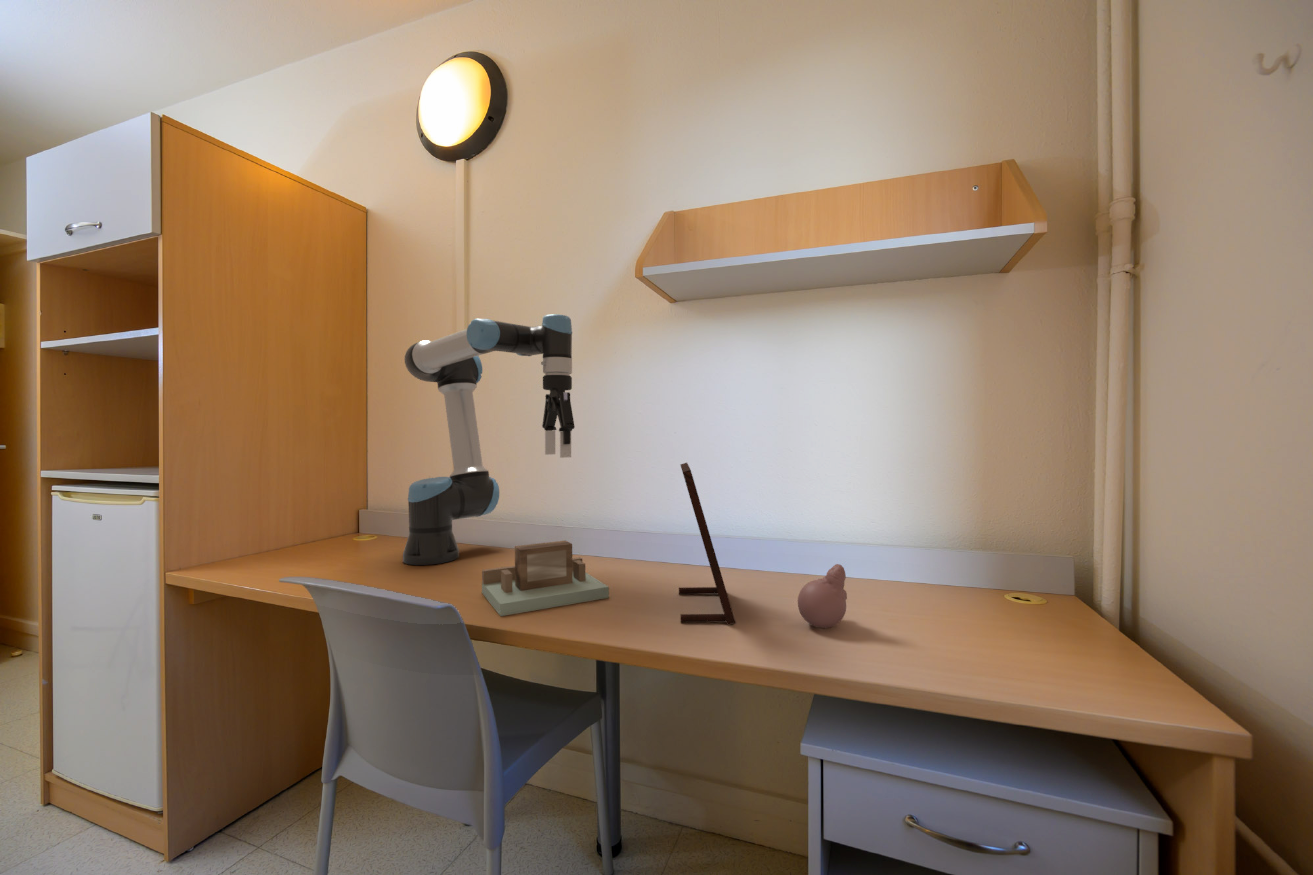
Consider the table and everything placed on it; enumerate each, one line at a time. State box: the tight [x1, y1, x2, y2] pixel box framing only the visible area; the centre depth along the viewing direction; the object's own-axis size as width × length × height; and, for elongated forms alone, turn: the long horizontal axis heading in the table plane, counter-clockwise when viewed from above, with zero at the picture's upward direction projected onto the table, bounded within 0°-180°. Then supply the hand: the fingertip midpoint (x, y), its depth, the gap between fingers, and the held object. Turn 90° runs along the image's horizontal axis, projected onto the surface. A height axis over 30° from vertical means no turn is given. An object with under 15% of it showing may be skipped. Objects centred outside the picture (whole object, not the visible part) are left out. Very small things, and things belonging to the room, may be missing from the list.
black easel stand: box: [678, 462, 736, 626], centre depth 117 cm, size 21×11×30 cm, turn 179°
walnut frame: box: [514, 539, 573, 591], centre depth 127 cm, size 5×12×9 cm, turn 119°
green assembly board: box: [481, 556, 610, 617], centre depth 127 cm, size 18×24×6 cm
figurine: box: [797, 563, 848, 629], centre depth 107 cm, size 9×11×12 cm
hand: (557, 455), depth 147 cm, fingers open, 13 cm apart
